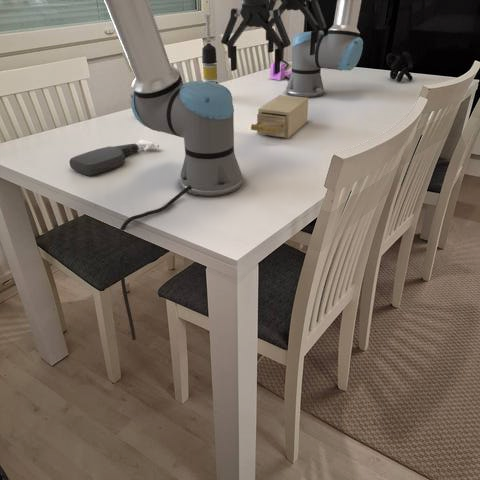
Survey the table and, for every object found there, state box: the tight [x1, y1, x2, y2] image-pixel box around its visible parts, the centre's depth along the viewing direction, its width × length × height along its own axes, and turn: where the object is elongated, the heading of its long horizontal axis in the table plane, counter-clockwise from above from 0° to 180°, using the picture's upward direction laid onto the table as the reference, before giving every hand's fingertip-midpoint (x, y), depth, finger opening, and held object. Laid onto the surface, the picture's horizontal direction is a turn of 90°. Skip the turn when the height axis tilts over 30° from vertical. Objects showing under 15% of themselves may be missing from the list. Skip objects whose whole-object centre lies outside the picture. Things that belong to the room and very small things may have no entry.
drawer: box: [250, 113, 286, 138], centre depth 140 cm, size 23×9×6 cm, turn 154°
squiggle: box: [385, 51, 414, 83], centre depth 198 cm, size 11×10×15 cm
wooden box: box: [257, 94, 309, 139], centre depth 144 cm, size 18×10×8 cm, turn 154°
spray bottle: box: [68, 139, 160, 177], centre depth 124 cm, size 3×11×24 cm
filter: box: [201, 14, 219, 84], centre depth 171 cm, size 6×6×30 cm
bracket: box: [269, 61, 292, 81], centre depth 208 cm, size 13×6×7 cm, turn 143°
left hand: (255, 71), depth 131 cm, fingers open, 13 cm apart
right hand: (291, 53), depth 138 cm, fingers open, 13 cm apart
